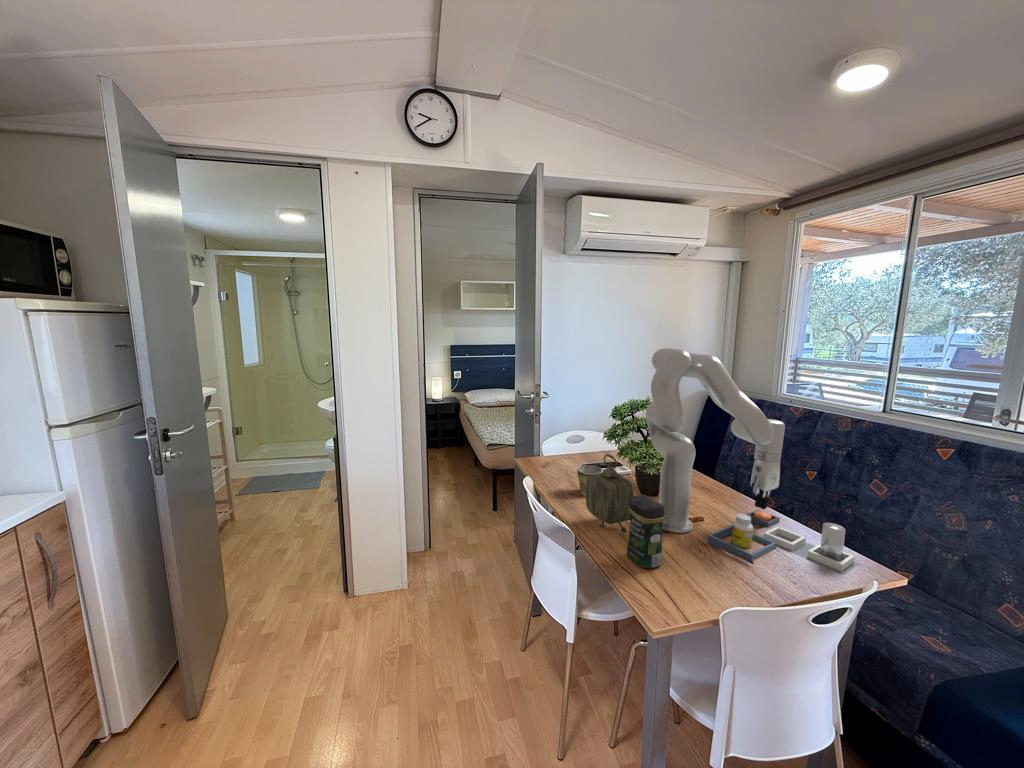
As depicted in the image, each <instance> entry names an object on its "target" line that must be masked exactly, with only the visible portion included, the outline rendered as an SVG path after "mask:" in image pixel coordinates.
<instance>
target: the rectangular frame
mask: <svg viewBox="0 0 1024 768" xmlns="http://www.w3.org/2000/svg"><path fill="white" fill-rule="evenodd" d="M732 528H733V524H731V525H729V526H727V527H726V526H725V527H724V528H722V529H719V530H716V531H714V532H712V533H710V534H708V535H707V543H708V544H710V545H712V546H714V547H716V548H718V549H720V550H722V551H724V552H727V553H729V554H731V555H732V556H735V557H737V558H739V559H741V560H743V561H745V562H747V563H749V564H753V563H755V562H754V560H756V559H758V558H760V557H761V556H763V555H765V554H767V553H769V552H771V551H773V550H775V549H777V546H776V544H777V543H775V542H773V541H771V540H768V539H766V538H763V537H762V536H761V535H758V534H756V533H755V532H754V533H753V535H752V540H755V541H757V542H759V543H761V544H764V545H765V546H763V547H762V548H759V549H758V550H756V551H753V552H749V551H746V550H744V549H743V548H741V547H738V546H736V545H734V544H731V543H729V542H727V541H725V540H722V539H723V538H725V537H727V536H729V535H730V536H731V535H732Z"/></svg>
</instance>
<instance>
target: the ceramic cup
mask: <svg viewBox="0 0 1024 768" xmlns="http://www.w3.org/2000/svg"><path fill="white" fill-rule="evenodd" d="M604 469H605V468H602V467H599V466H595V465H580V466H578V467H577V469H576V471H577V477H578V483H579V488H580V489H579V490H580V494H581V495H582V496H584V497H586V486H587V479H588V477H589V476H590V475H591V474H597V473H602V472H603V470H604Z"/></svg>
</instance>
